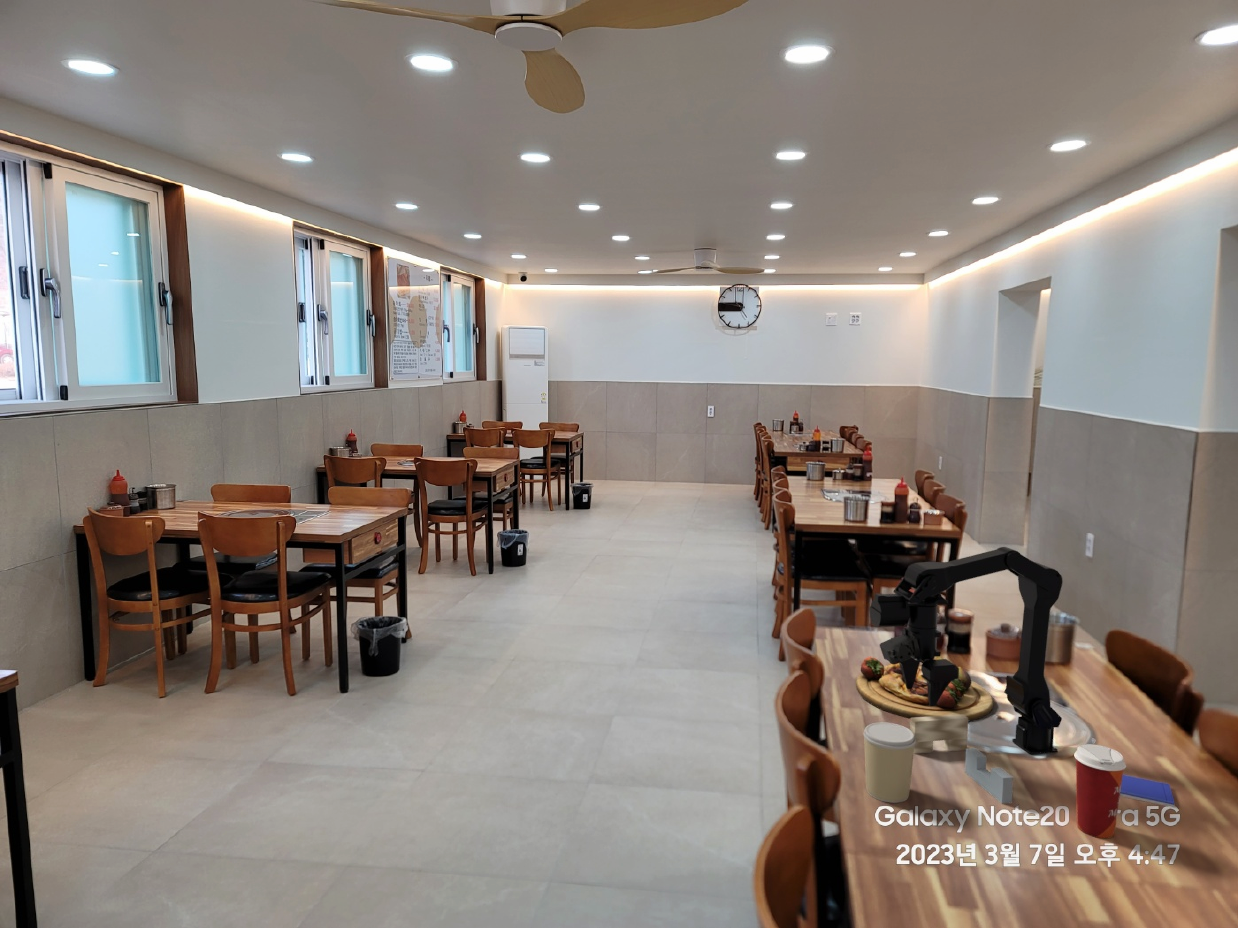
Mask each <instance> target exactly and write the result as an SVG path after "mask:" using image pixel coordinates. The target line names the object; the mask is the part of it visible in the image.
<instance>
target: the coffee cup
mask: <svg viewBox="0 0 1238 928" xmlns="http://www.w3.org/2000/svg"><path fill="white" fill-rule="evenodd" d="M863 739H864V740H863V742H864V744H863V745H864V765H865V766H864V769H865V786H866V787H865V788H866V792H867V793H868V795H870V797H872V798H873V799H876V800H878V801H880V802H884V803H885V802H886V803H890V804H891V803H892V804H896V803H902V802H905V801H906V800H908V799H909V796H910V788H911V780H912V773H913V772H912V771H913V764H914V756H915V755H914V745H915V742H916V739H915V736H914V734H913V732H912V731H911V730H910V728H908V727H906V726H904V725H901V724H897V723H893V722H888V721H887V722H886V721H884V722H883V721H882V722H881V721H880V722H873V723H870V724H868V725H867V726H866V727H865V728H864V730H863Z"/></svg>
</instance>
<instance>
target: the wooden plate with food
mask: <svg viewBox="0 0 1238 928" xmlns="http://www.w3.org/2000/svg"><path fill="white" fill-rule="evenodd" d="M934 659H935V660H938V659H944V657H942V656H938V657H934ZM957 667H958V668H959V678H958V679H955V680H954V681H951V682H950V683H949V685H948V686H947V687H946V689H945V690H944V692H943V694H942V695H941V697H940V699H939V700H938V702H937V704H936V705H935V706H930V705H929V700H928V689H927V682H926V681H925V680H924V679H923V678H922V677H921V675H923V673H922V671H921V665H919V667H918V671H917V675H916V678H915V682H914V685H913V687H912V689H907V688H906V685H905V681H904V677H903V674H902V670H901V667H900V664H899V663H898V664H891V663H889V664H887V665H884V664H883V663H882V662H881V661H880V659H877V658H876V657H874V656H873V657H872V656H867V657H866V658H864V659H863V661H862V662H861V665H860V672H861V673H860V674H859V675H858V676H857V677H856V680H855V688H856V691H857V693H858V694H859V695H860V697H862V698H863V699H864V700H865V701H866V702H868V703H869V704H870V705H872V706H874V707H876V708H877V709H880V710H882V711H884V712H887V713H890V714H893V715H896V716H899V717H903V718H908V719H910V718H914V717H929V716H944V715H960V714H963V715H965V716H966V717H967V718H968V722H969V720H970V721H975V720H977V719H978V718H979V719H981V718H984V717H986V714H987V715H988V714H990V712H991V711H992V709H993V708H994V698H993V697H992V696H991V694H990V692H989V691H988V690H987V689H986V688H985V687H983V686H982V685H981V684H979V683H977V682H975V681H973V680H972V678H971V675H970V674H969V673H968V672H967V671H966V670H965V669H964V668H962V667H961V666H957ZM974 719H975V720H974Z"/></svg>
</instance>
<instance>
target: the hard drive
mask: <svg viewBox="0 0 1238 928" xmlns="http://www.w3.org/2000/svg"><path fill="white" fill-rule="evenodd" d="M1120 797H1122V798H1127V799H1131V800H1136V801H1141V802H1146V803H1150V804H1155V805H1159V806H1165V807H1170V808H1175V799H1174V796H1173V792H1172V789H1171V786H1170V783H1166V782H1160V781H1155V780H1151V779H1147V778H1146V779H1145V778H1143V777H1141V778H1140V777H1137V776H1136V777H1135V776H1131V775H1128V774H1127V775H1126V774H1123V776H1122V783H1121V791H1120Z"/></svg>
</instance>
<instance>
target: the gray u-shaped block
mask: <svg viewBox="0 0 1238 928" xmlns="http://www.w3.org/2000/svg"><path fill="white" fill-rule="evenodd" d="M987 759H988V758H987V755H986V754H984V753H983V752H981V751H980V750H979V749H978V748H976V747H967V748H966V750H965V764H964V773H965V774H966V775H967V776H969V778H971V779H972V780H973V781H974V782H976V783H977V784H978V785H979V786H980V787H981V788H983V790H985V791H986V792H987V793H989V795H991V796H992V797H993V798H994V799H996V801H998V802H999V803H1000V804H1001V805H1003V804H1004V805H1005V804H1012V803H1013V791H1014V790H1013V789H1014V788H1013V786H1014V777H1013V776H1012V775H1011V774H1009V773H1008V772H1007V771H1006V770H1005V769H1003V768H1002V767H991V768H990V771H989V770H988V769H987Z"/></svg>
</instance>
